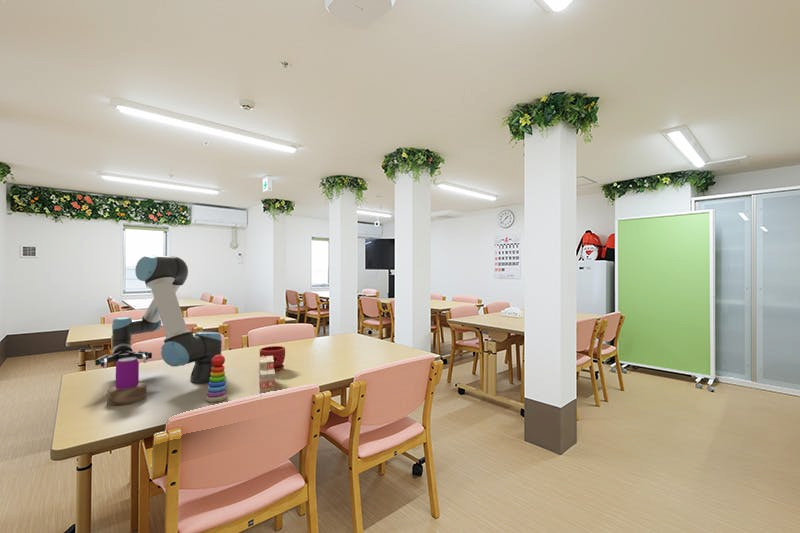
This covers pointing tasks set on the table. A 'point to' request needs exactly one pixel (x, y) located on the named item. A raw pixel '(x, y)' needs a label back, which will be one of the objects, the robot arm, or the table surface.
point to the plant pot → (275, 355)
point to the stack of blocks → (266, 374)
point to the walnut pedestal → (126, 395)
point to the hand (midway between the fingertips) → (126, 362)
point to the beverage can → (127, 373)
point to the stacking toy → (217, 380)
